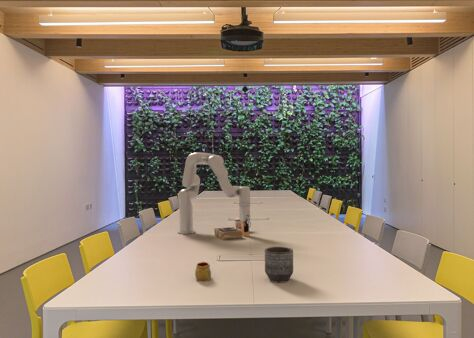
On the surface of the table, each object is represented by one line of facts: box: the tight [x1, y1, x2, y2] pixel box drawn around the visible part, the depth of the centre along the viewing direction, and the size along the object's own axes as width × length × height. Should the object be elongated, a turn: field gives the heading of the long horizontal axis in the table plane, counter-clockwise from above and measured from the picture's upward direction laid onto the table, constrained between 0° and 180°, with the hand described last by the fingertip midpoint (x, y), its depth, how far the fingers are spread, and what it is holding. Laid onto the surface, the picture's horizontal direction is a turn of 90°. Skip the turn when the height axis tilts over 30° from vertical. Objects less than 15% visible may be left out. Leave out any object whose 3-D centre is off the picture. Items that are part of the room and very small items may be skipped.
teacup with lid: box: [234, 216, 252, 230], centre depth 286 cm, size 12×9×12 cm
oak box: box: [213, 226, 243, 241], centre depth 266 cm, size 17×14×6 cm
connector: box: [241, 220, 250, 237], centre depth 269 cm, size 4×4×11 cm
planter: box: [264, 246, 294, 283], centre depth 169 cm, size 12×12×13 cm
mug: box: [194, 261, 212, 282], centre depth 174 cm, size 12×7×7 cm, turn 177°
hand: (245, 230), depth 269 cm, fingers closed on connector, 4 cm apart
